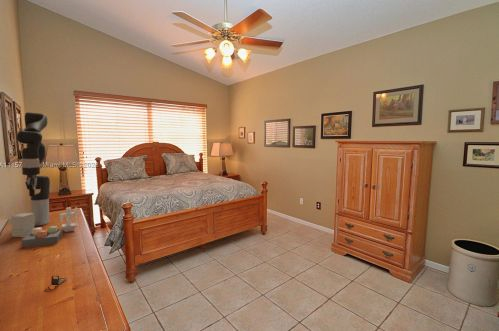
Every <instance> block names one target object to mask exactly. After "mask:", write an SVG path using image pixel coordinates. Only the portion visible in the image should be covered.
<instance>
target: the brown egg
mask: <svg viewBox="0 0 499 331" xmlns="http://www.w3.org/2000/svg"><path fill="white" fill-rule="evenodd" d="M47 230H48V229H42V230H41V231H37V238H42V237H47Z"/></svg>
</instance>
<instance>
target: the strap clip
mask: <svg viewBox="0 0 499 331" xmlns="http://www.w3.org/2000/svg"><path fill="white" fill-rule="evenodd" d="M55 277H56V278H55ZM61 279H64V280H61ZM66 279H68V278H65V277H60V275H55V274H54V275H52V276H51V278H50V280H51V281H50V286H51V285H57V286H59V285H60V284H59V283H61V284H63V283H64V282H63V281H65V280H66ZM66 281H67V280H66ZM66 281H65V282H66ZM62 282H63V283H62ZM58 284H59V285H58Z"/></svg>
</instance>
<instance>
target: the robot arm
mask: <svg viewBox="0 0 499 331" xmlns="http://www.w3.org/2000/svg"><path fill="white" fill-rule="evenodd" d="M47 125H48V117H47V115H46V114H44V113H40V112H26V113H24V126H25V127H24V128H22V129H21V130H20V131H18V132H17V133H16V140H17V142H19V143H20V144H24V145H25V144H26V147H24V148H22V150H21V157H22V158H21V169H22V170H21V173H22V175H23V176H26V178H25V186H26V189H27V190H28V194H29V195H28V196H29V197H30V211H31V212H30V213H34V225H35V226H37V227H38V226H44V225H48V224H49V223H50V185H51V181H50V177H49V176H47V175H40V173H41V169H40V167H41V164H42V163H43V161H44V160H45V158H46V147H45V145H44V144H43V142H42V141H43V135H42V134H41V131H42V130H44V129H45V128H46V127H47ZM36 190H39V192H37V193H36Z"/></svg>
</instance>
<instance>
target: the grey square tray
mask: <svg viewBox="0 0 499 331" xmlns="http://www.w3.org/2000/svg"><path fill="white" fill-rule="evenodd" d="M46 230H47V237H42V238H37V235H32V232H29V233H28V234H27V235H26V237H23V238H22V239H21V248H29V247H39V246H45V245H55V244H58V243H59V241H60V239H61V238H62V237H63V228H57V233H48V229H46Z"/></svg>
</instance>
